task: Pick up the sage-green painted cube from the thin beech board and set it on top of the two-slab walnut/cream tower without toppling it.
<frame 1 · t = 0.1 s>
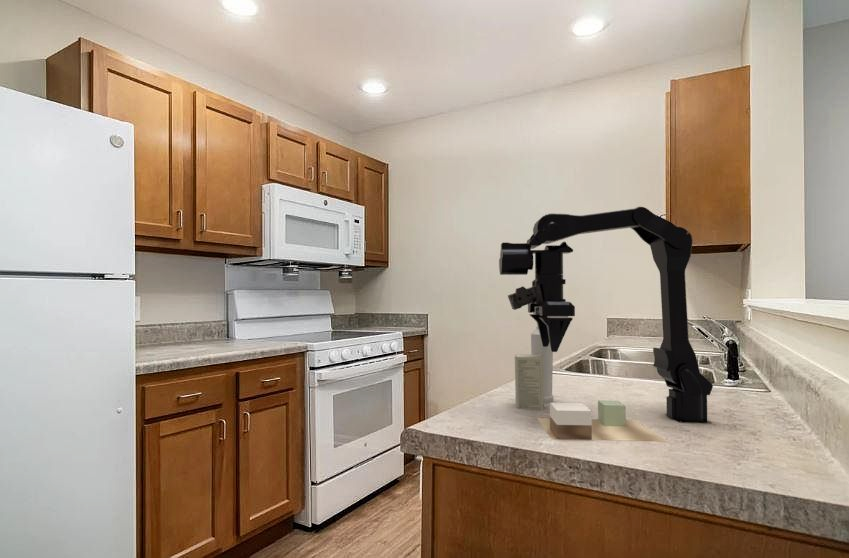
hand: (549, 349, 100), 15 cm above the counter, fingers open, 9 cm apart
tower mid: (570, 420, 87), point 3 cm above the counter, touching tower base
bottle: (542, 404, 114), on the counter
green cube: (611, 423, 94), point 1 cm above the counter, touching cutting board
tower base: (570, 434, 87), point 1 cm above the counter, touching cutting board, tower mid
cutting board: (597, 431, 90), on the counter
skincare box: (529, 410, 108), on the counter
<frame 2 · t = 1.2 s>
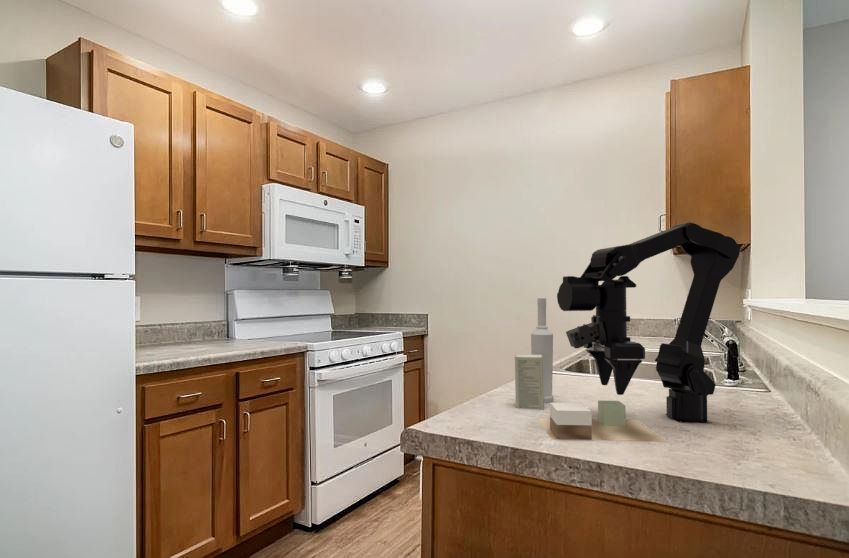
hand: (611, 389, 94), 7 cm above the counter, fingers open, 9 cm apart
nothing on the counter moved.
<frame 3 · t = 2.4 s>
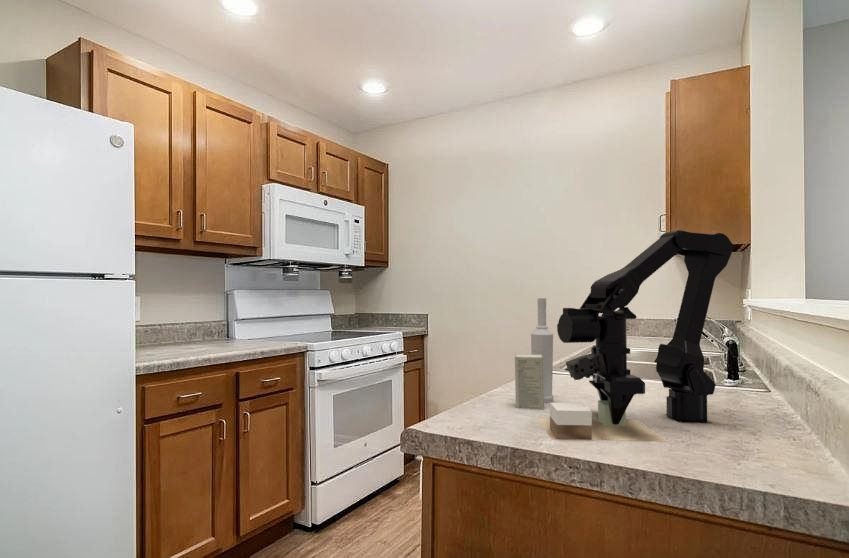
hand: (611, 421, 94), 1 cm above the counter, fingers closed on green cube, 4 cm apart
green cube: (611, 423, 94), point 1 cm above the counter, touching cutting board, gripper
everything else where it was.
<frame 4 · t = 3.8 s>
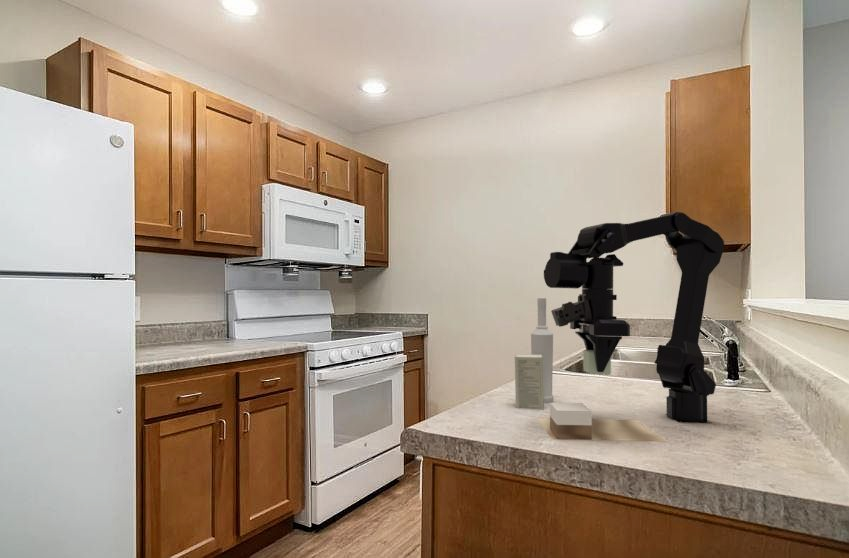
hand: (596, 370, 92), 11 cm above the counter, fingers closed on green cube, 4 cm apart
green cube: (596, 372, 92), point 11 cm above the counter, touching gripper
everything else where it was.
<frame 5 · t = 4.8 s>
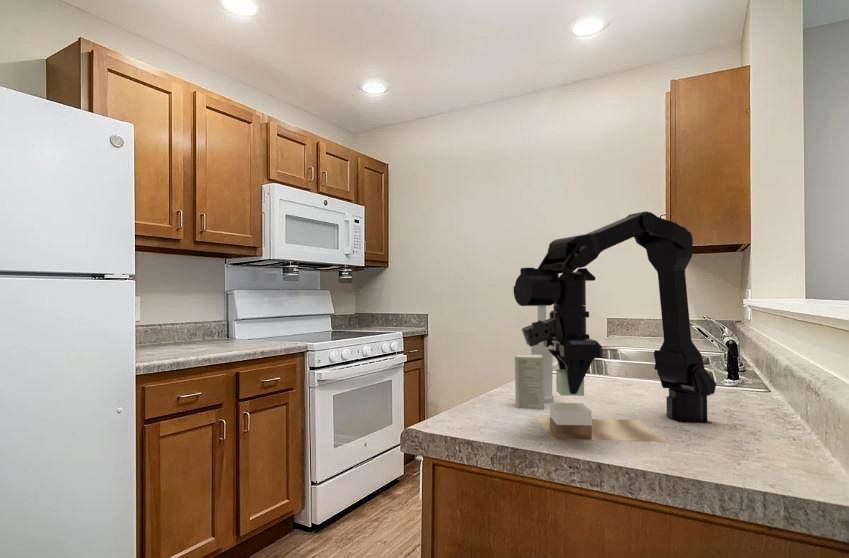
hand: (570, 391, 87), 8 cm above the counter, fingers closed on green cube, 4 cm apart
green cube: (569, 393, 87), point 8 cm above the counter, touching gripper
everything else where it was.
when the fingers open (7 cm above the counter, at t = 5.3 s): green cube stays where it is, resting on tower mid.
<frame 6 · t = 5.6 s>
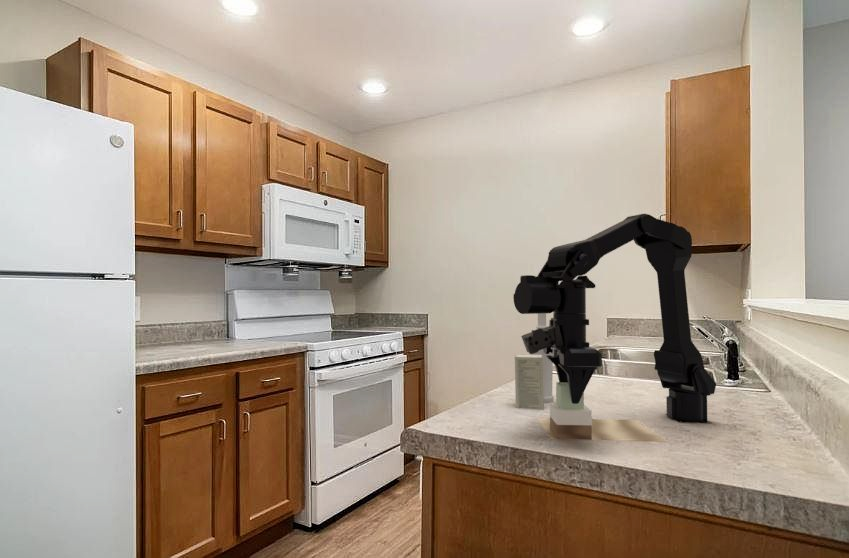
hand: (570, 398, 87), 7 cm above the counter, fingers open, 7 cm apart
tower mid: (570, 420, 87), point 3 cm above the counter, touching green cube, tower base
green cube: (569, 406, 87), point 6 cm above the counter, touching tower mid
everything else where it was.
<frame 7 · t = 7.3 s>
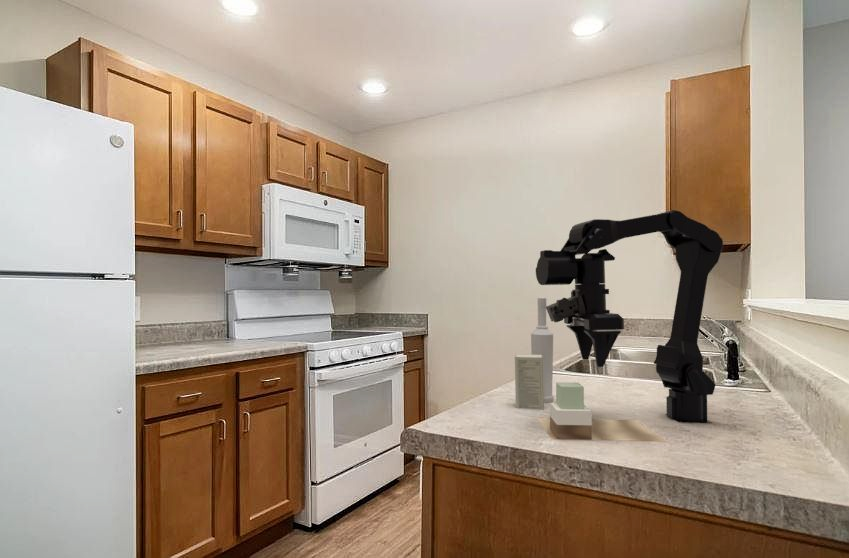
hand: (592, 363, 94), 12 cm above the counter, fingers open, 9 cm apart
nothing on the counter moved.
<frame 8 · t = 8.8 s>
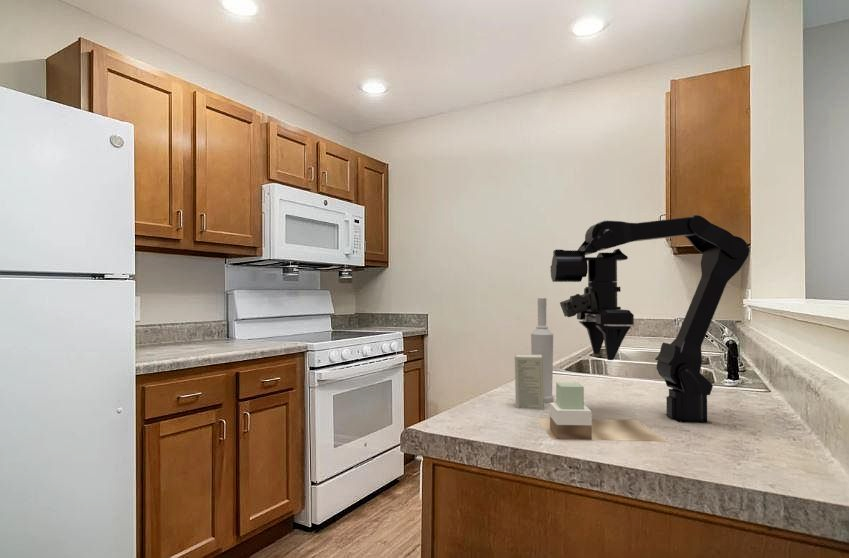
hand: (603, 356, 99), 13 cm above the counter, fingers open, 9 cm apart
nothing on the counter moved.
at the end: green cube 0.1 cm off-centre on the tower mid, point 2.5 cm above the tower mid's base; tower mid tilted 0°; green cube tilted 0° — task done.
